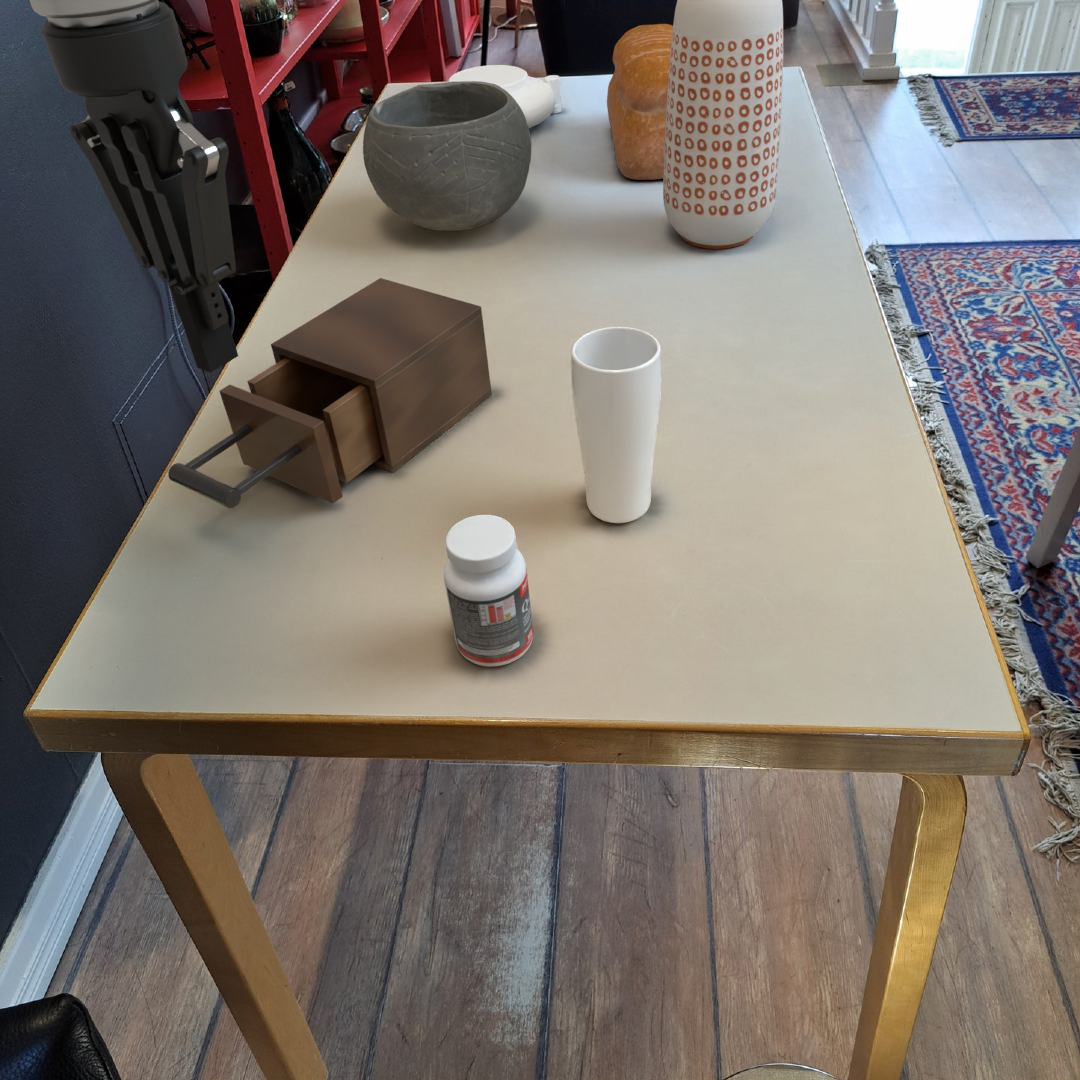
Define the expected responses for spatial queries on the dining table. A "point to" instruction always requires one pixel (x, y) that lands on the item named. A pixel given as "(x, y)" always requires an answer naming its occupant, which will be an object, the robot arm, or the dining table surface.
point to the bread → (640, 100)
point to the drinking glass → (617, 418)
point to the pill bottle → (487, 591)
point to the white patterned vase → (723, 119)
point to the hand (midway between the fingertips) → (217, 361)
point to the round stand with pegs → (519, 89)
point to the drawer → (292, 433)
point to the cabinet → (401, 360)
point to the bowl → (448, 153)
